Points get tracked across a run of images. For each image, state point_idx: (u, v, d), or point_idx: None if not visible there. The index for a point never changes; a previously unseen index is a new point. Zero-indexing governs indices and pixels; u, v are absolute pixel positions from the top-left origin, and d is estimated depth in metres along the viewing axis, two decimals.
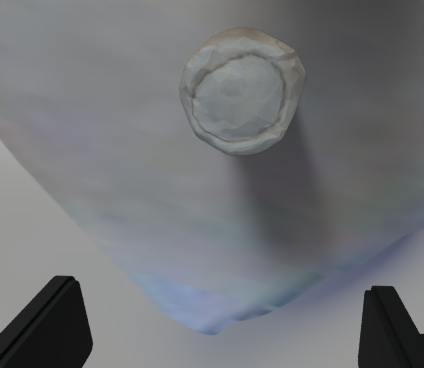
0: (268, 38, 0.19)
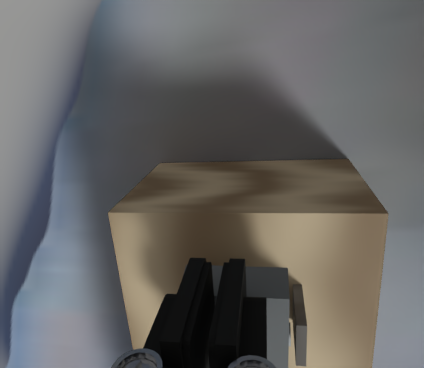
0: None
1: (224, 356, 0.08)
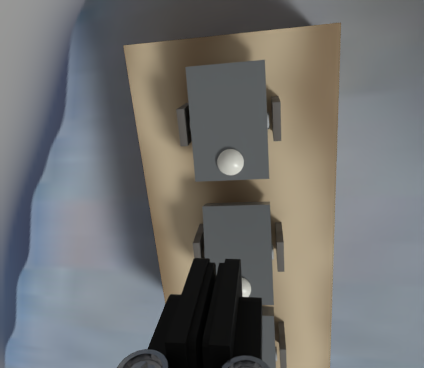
0: None
1: (218, 356, 0.08)
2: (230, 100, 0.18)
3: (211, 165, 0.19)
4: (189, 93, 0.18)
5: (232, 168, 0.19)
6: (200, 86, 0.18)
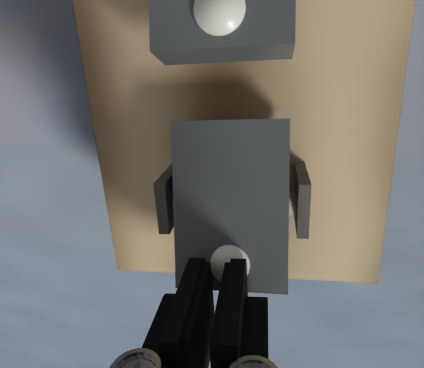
0: None
1: (226, 356, 0.08)
2: None
3: None
4: None
5: None
6: None
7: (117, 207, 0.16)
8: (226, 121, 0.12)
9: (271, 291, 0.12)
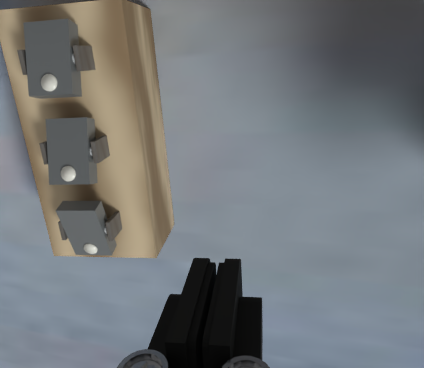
0: None
1: (218, 356, 0.08)
2: (48, 43, 0.29)
3: (38, 85, 0.29)
4: (25, 38, 0.29)
5: (49, 86, 0.29)
6: (31, 34, 0.29)
7: (51, 229, 0.38)
8: (74, 211, 0.33)
9: None
